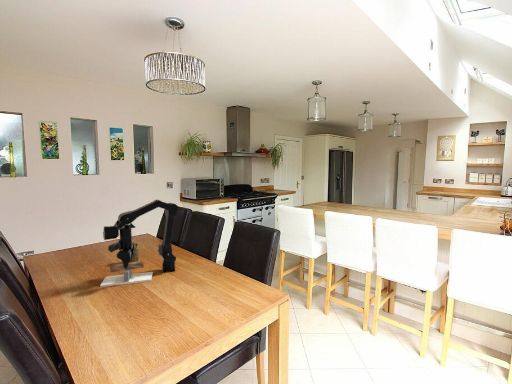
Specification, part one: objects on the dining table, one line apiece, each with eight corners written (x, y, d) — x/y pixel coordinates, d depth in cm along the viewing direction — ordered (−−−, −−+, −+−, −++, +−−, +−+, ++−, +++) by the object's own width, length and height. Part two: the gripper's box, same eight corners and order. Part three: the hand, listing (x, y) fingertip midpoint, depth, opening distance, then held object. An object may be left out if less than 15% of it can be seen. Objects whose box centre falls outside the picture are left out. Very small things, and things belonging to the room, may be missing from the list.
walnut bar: (143, 265, 152) (143, 260, 151) (143, 267, 149) (143, 262, 149) (111, 270, 146) (110, 264, 145) (110, 272, 143) (110, 266, 143)
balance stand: (152, 273, 156) (152, 263, 156) (151, 281, 146) (150, 270, 145) (106, 278, 150) (105, 267, 149) (100, 286, 139) (99, 275, 139)
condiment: (138, 259, 180) (137, 241, 179) (142, 263, 173) (141, 244, 172) (126, 262, 175) (125, 243, 174) (129, 265, 169) (128, 246, 168)
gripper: (113, 233, 152) (114, 261, 154) (104, 242, 134) (106, 273, 136) (134, 232, 155) (136, 259, 157) (129, 241, 137) (130, 271, 139)
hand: (127, 265), depth 147 cm, fingers open, 9 cm apart
